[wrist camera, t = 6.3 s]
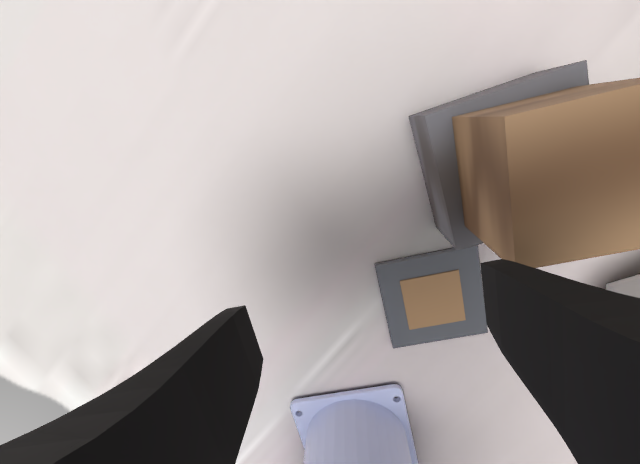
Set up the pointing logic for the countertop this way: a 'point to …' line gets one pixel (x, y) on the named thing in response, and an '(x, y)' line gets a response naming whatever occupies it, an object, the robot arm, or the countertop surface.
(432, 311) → the tile
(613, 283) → the pale gray rock
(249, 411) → the robot arm
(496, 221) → the walnut cube
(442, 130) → the charcoal base block
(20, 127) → the countertop surface
